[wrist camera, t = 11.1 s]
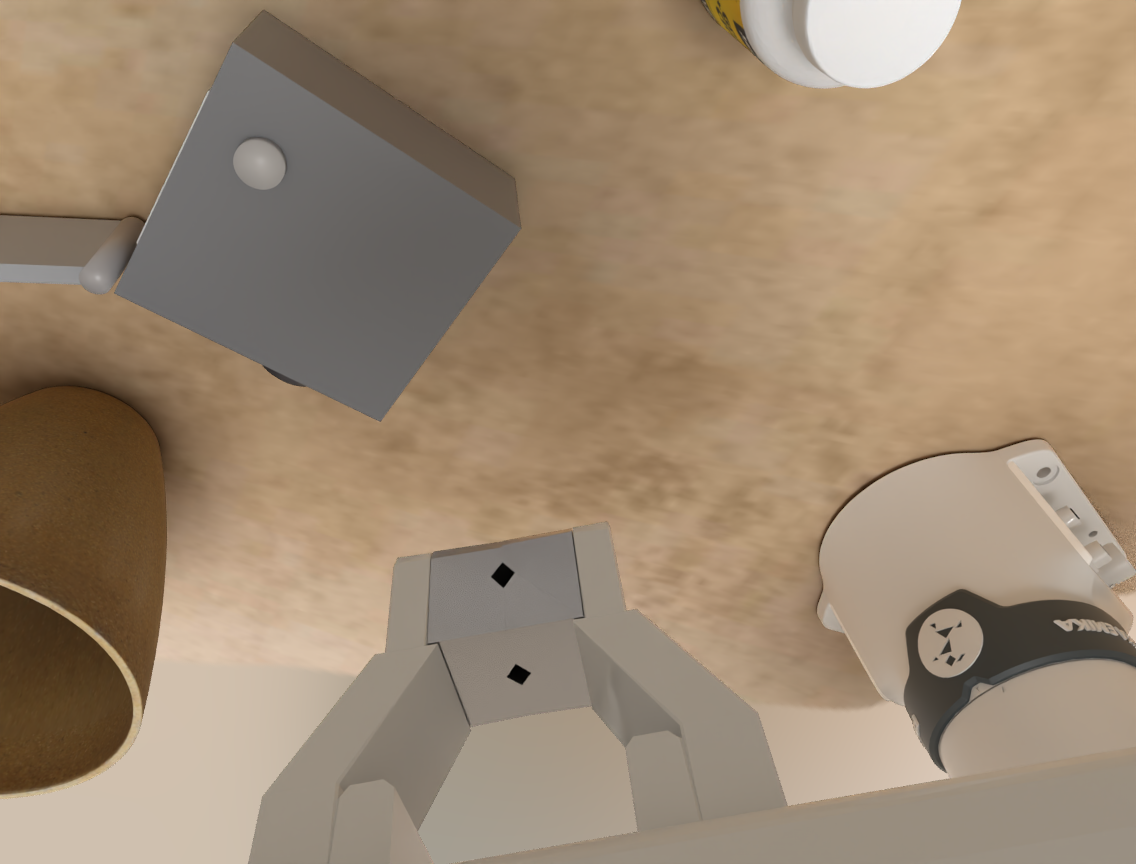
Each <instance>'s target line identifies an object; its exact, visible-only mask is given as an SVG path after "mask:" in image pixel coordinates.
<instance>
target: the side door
mask: <svg viewBox="0 0 1136 864" xmlns="http://www.w3.org/2000/svg"><path fill="white" fill-rule="evenodd" d="M144 225H145V223H144V222H143V221H142V220H140V219H138V218H135V217H127V218H124V219H123V220H122V221H118V220H96V219H74V218H52V217H30V216H8V215H0V282H21V283H49V284H77V285H82V286H83V287H84V288H85V289H86V290H87V291H89V292H91V293H94V294H105V293H107V292H108V291H109V290H110V289H111V288H112V286H113V285H114V283H115V282H116V281H117V279H118V278H119V276H120V275H121V274H122V272H123V271H124V270H125V268H126V267H127V265H128V263H129V261H130V259H131V256H132V254H133V252H134V250H135V248H136V246H137V243H136V242H137V240H138V238H139V236H140V234H141V232H142V230H143V227H144Z"/></svg>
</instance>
